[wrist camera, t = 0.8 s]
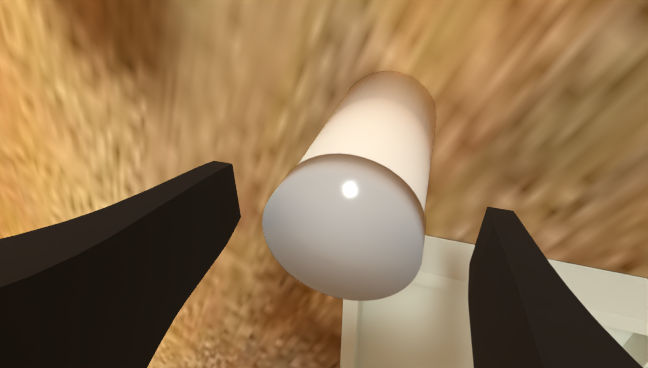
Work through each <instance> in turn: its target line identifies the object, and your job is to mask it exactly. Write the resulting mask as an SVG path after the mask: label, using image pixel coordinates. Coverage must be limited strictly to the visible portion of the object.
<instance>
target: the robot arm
mask: <svg viewBox="0 0 648 368" xmlns="http://www.w3.org/2000/svg"><path fill="white" fill-rule="evenodd" d="M240 218H241V215H240V209H239V203H238V196H237V190H236V184H235V178H234V172H233V166H232V164H230V163H224V162H218V161H213V162H210V163H207V164H204V165H202V166H199V167H197V168H195V169H193V170H190V171H188V172H186V173H184V174H181V175H179V176H177V177H175V178H173V179H171V180H168V181H166V182H164V183H162V184H160V185H157V186H155V187H153V188H151V189H149V190H146V191H144V192H142V193H139V194H137V195H134V196H132V197H130V198H127V199H125V200H123V201H120V202H118V203H115V204H113V205H111V206H108V207H105V208H103V209H100V210H97V211H94V212H92V213H89V214H86V215H83V216H80V217H77V218H74V219H71V220H68V221H65V222H62V223H58V224H55V225H51V226H48V227H44V228H40V229H37V230H33V231H30V232H26V233H22V234H19V235H15V236H11V237H7V238H2V239H0V368H147V367H148V365H149V363H150V361H151V359H152V357H153V355H154V354H155V352H156V350H157V348H158V346H159V344H160V343H161V341H162V339H163V337H164V336H165V334H166V332H167V331H168V329H169V327H170V325H171V324H172V322H173V320H174V318H175V317H176V315H177V314H178V312H179V311H180V309H181V308H182V306H183V305H184V303H185V302H186V300H187V299H188V297H189V296H190V295H191V293H192V292H193V291H194V289H195V288H196V286H197V285H198V284H199V282H200V281H201V280H202V278H203V277H204V275H205V274H206V273H207V271H208V270H209V269H210V267H211V266H212V264H213V263H214V262H215V260H216V259H217V257H218V256H219V255H220V253H221V252H222V250H223V249H224V247H225V246H226V244H227V243H228V241H229V239H230V237H231V235H232V234H233V232H234V230H235V228H236V226H237V224H238V222H239V220H240ZM468 307H469V319H470V331H471V343H472V354H473V366H474V368H643V367H642V366H641V365H640V364H639V363H638V362H637V361H636V360H635V359H634V358H633V357H632V356H631V355H630V354H629V353H628V352H627V351H626V350H625V349H624V348H623V347H622V346H621V345H620V344H619V343H618V342H617V341H616V340H615V339H614V338H613V337H612V336H611V335H610V334H609V333H608V332H607V331H606V330H605V329H604V328H603V327H602V325H601V324H600V323H599V322H598V321H597V320H596V319H595V318H594V317H593V316H592V314H591V313H590V312H589V311H588V310H587V309H586V307H585V306H584V305H583V304H582V303H581V302H580V300H579V299H578V298H577V297H576V296H575V295H574V293H573V292H572V291H571V290H570V289H569V287H568V286H567V285H566V284H565V282H564V281H563V280H562V278H561V277H560V276H559V274H558V273H557V272H556V270H555V269H554V268H553V267H552V265H551V264H550V263H549V261H548V260H547V259H546V257H545V256H544V254H543V253H542V252H541V250H540V249H539V247H538V246H537V244H536V243H535V242H534V240H533V239H532V237H531V236H530V234H529V233H528V231H527V230H526V229H525V227H524V226H523V224H522V223H521V221H520V220H519V218H518V217H517V216H516V214H515V213H514V211H510V210H504V209H498V208H492V207H487V210H486V213H485V216H484V219H483V222H482V225H481V228H480V232H479V235H478V238H477V241H476V244H475V247H474V250H473V254H472V257H471V260H470V263H469V280H468Z"/></svg>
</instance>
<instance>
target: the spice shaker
mask: <svg viewBox="0 0 648 368" xmlns="http://www.w3.org/2000/svg"><path fill="white" fill-rule="evenodd" d="M436 119H437V116H436V107H435V104H434V101H433V99H432V97H431V95H430V93H429V92H428V90H427V89H426V88H425V87H424V86H423V85H422V84H421V83H420V82H419V81H417V80H416V79H414V78H413V77H411V76H408V75H406V74H403V73H400V72H394V71H381V72H376V73H372V74H370V75H367V76H365V77H363V78H362V79H360V80H359V81H357V82H356V83H355V84H354V85H353V86H352V87H351V89H350V90H349V91H348V93H347V94H346V96H345V97H344V99H343V100H342V101H341V103H340V104H339V106H338V107H337V109H336V110H335V112H334V113H333V115H332V116H331V117H330V119H329V120H328V122H327V123H326V125H325V126H324V128H323V129H322V130H321V132H320V133H319V135H318V136H317V138H316V139H315V141H314V142H313V143H312V145H311V146H310V148H309V149H308V151H307V152H306V154H305V155H304V156H303V158H302V159H301V161H300V162H299V164H298V165H296V166H295V167H294V168H293V169H292V170H290V171H289V172H288V174H287V175H286V176H285V178H284V179H283V180H282V182H281V183H280V185H279V186H278V187H277V189H276V190H275V192H274V193H273V194H272V196H271V197H270V199H269V200H268V202H267V204H266V206H265V210H264V213H263V232H264V237H265V239H266V242H267V245H268V247H269V249H270V251H271V252H272V254H273V256H274V257H275V259H276V260H277V261H278V262H279V263H280V265H281V266H282V267H283V268H284V269H285V270H286V271H287V272H288V273H289V274H291V275H292V276H293V277H294V278H296V279H297V280H298V281H300V282H301V283H303V284H305V285H306V286H308V287H310V288H312V289H314V290H316V291H318V292H321V293H323V294H326V295H329V296H332V297H336V298H340V299H345V300H353V301H370V300H378V299H383V298H386V297H389V296H392V295H394V294H396V293H398V292H400V291H401V290H403V289H404V288H406V287H407V286H408V285H409V284H410V283H411V282H412V281H413V280H414V278H415V277H416V275H417V273H418V272H419V270H420V266H421V263H422V256H423V248H424V240H425V231H426V219H425V215H424V210H425V202H426V195H427V187H428V180H429V172H430V165H431V157H432V150H433V142H434V135H435V127H436Z"/></svg>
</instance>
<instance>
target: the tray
mask: <svg viewBox="0 0 648 368" xmlns="http://www.w3.org/2000/svg"><path fill="white" fill-rule="evenodd" d="M474 247H475V245H472V244H467V243H462V242H457V241H452V240H447V239H442V238H437V237H431V236H426V235H425V240H424V248H423V256H422V263H421V266H420V270H419V272H418V273H417V275H416V277H415V278H414V280H413V281H412V282H411V283H410V284H409V285H408V286H407V287H406V288H404V289H403V290H401V291H400V292H398V293H396V294H394V295H392V296H389V297H386V298H383V299H378V300H370V301H353V300H345V299H343V315H342V336H341V358H340V368H474V366H473V354H472V343H471V331H470V319H469V307H468V280H469V263H470V260H471V257H472V254H473V250H474ZM547 260H548V261H549V263H550V264H551V265H552V267H553V268H554V269H555V270H556V272H557V273H558V274H559V276H560V277H561V278H562V280H563V281H564V282H565V284H566V285H567V286H568V287H569V289H570V290H571V291H572V292H573V293H574V295H575V296H576V297H577V298H578V299H579V300H580V302H581V303H582V304H583V305H584V306H585V307H586V309H587V310H588V311H589V312H590V313H591V314H592V316H593V317H594V318H595V319H596V320H597V321H598V322H599V323H600V324H601V325H602V327H603V328H604V329H605V330H606V331H607V332H608V333H609V334H610V335H611V336H612V337H613V338H614V339H615V340H616V341H617V342H618V343H619V344H620V345H621V346H622V347H623V348H624V349H625V350H626V351H627V352H628V353H629V354H630V355H631V356H632V357H633V358H634V359H635V360H636V361H637V362H638V363H639V364H640V365H641V366H642V367H643V368H648V279H647V278H641V277H636V276H631V275H626V274H621V273H616V272H611V271H606V270H600V269H595V268H590V267H585V266H580V265H575V264H570V263H565V262H559V261H554V260H549V259H547Z"/></svg>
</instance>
